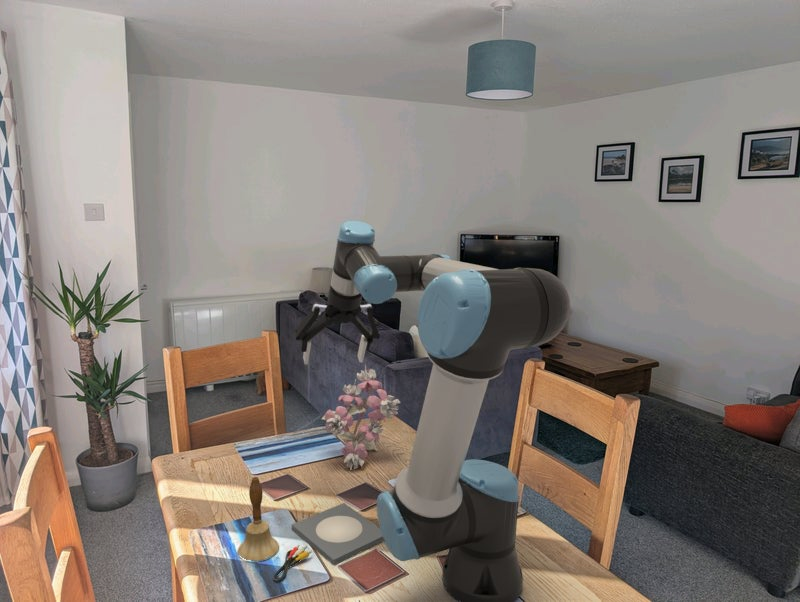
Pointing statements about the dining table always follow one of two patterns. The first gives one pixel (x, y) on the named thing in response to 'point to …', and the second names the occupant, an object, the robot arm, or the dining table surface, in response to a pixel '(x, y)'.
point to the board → (338, 533)
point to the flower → (360, 417)
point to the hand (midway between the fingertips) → (333, 359)
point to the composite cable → (291, 561)
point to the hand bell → (257, 530)
